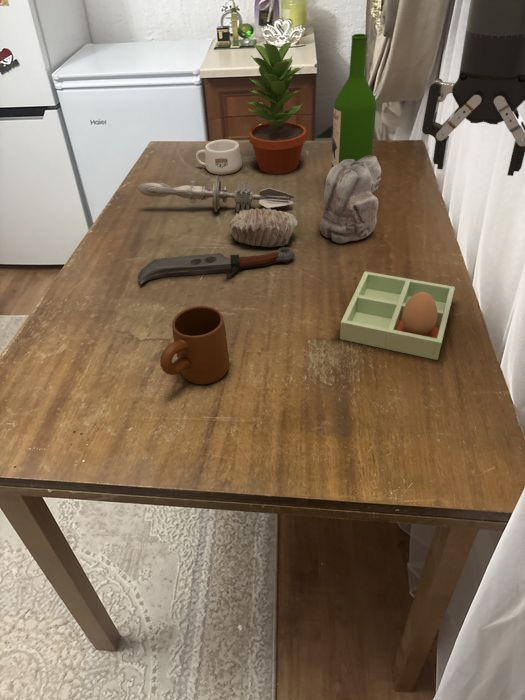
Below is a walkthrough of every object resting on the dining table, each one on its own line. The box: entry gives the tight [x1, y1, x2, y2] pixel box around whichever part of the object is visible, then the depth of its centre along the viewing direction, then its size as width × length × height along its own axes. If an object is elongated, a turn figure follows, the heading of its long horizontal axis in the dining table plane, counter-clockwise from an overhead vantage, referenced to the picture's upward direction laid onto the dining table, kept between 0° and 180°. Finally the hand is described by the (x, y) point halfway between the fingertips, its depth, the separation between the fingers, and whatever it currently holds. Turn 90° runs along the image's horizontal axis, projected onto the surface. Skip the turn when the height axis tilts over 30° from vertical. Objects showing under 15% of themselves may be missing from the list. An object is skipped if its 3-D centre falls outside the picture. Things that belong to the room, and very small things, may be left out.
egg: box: [402, 292, 438, 336], centre depth 83 cm, size 5×5×8 cm
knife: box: [137, 246, 295, 285], centre depth 103 cm, size 9×2×30 cm
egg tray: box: [339, 270, 456, 361], centre depth 88 cm, size 15×15×4 cm
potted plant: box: [246, 37, 307, 175], centre depth 131 cm, size 15×15×30 cm
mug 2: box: [195, 138, 243, 176], centre depth 139 cm, size 12×10×6 cm
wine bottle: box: [331, 33, 377, 168], centre depth 117 cm, size 9×9×32 cm
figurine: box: [319, 154, 382, 244], centre depth 108 cm, size 10×11×15 cm
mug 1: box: [159, 305, 230, 385], centre depth 78 cm, size 12×8×9 cm, turn 147°
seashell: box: [229, 207, 299, 248], centre depth 109 cm, size 14×9×10 cm
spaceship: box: [137, 175, 295, 213], centre depth 120 cm, size 8×35×8 cm
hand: (475, 170), depth 69 cm, fingers open, 8 cm apart
